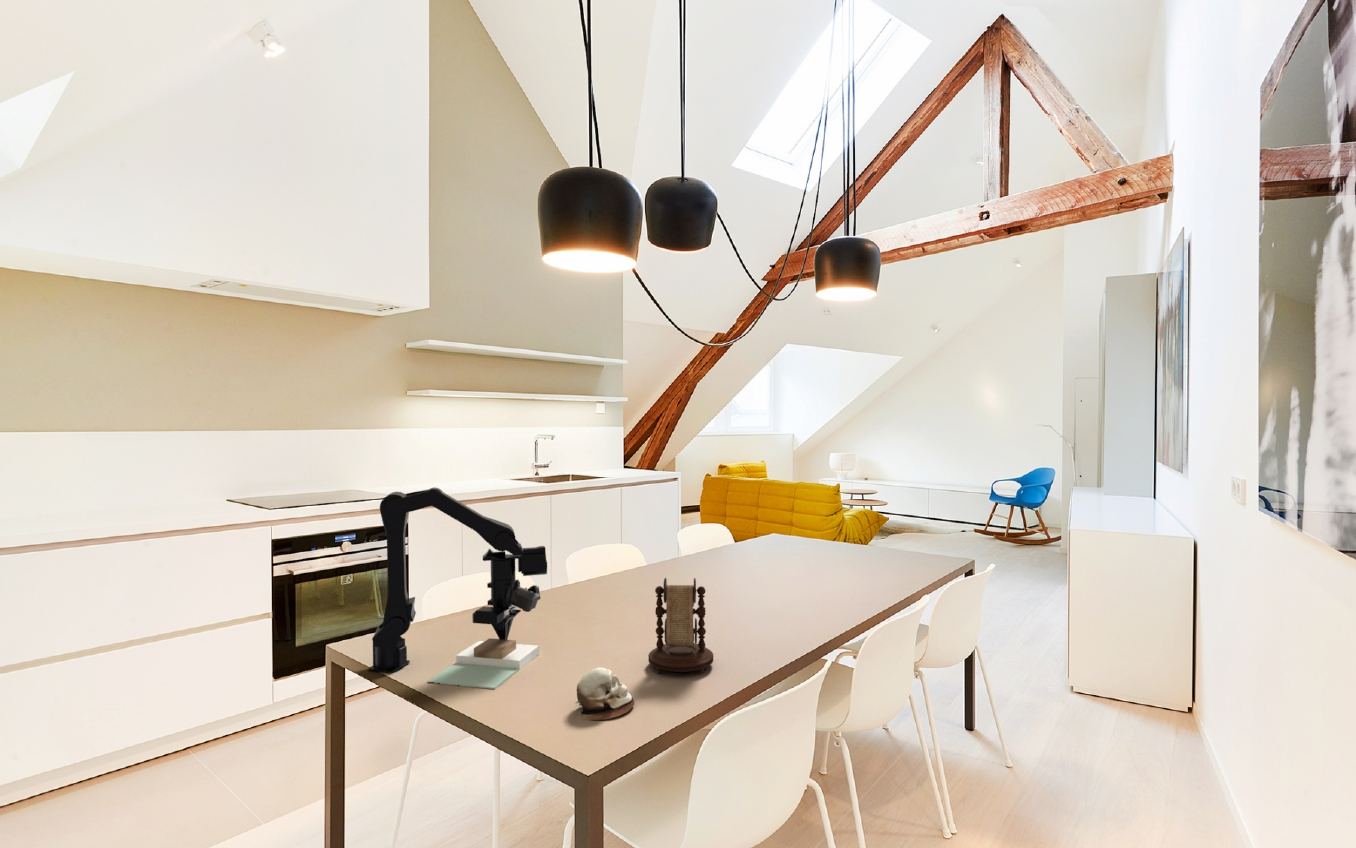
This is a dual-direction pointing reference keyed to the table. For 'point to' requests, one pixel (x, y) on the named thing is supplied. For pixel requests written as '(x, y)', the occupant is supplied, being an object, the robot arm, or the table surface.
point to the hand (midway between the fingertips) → (503, 642)
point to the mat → (474, 675)
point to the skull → (602, 695)
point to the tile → (495, 648)
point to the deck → (512, 660)
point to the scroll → (680, 630)
